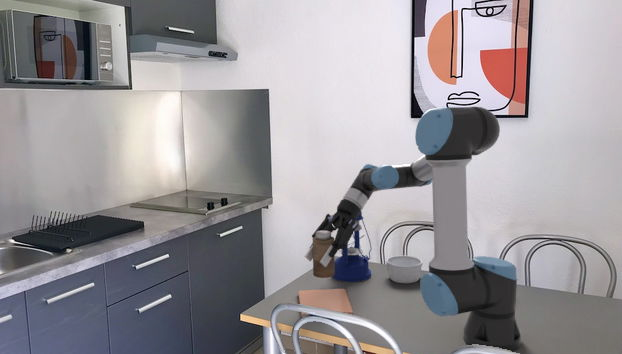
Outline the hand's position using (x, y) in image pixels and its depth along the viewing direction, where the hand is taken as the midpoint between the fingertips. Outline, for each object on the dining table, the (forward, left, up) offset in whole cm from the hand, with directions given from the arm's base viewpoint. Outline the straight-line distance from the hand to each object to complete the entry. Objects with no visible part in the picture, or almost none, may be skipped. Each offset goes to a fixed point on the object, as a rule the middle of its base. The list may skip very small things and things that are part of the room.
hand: (315, 261), depth 170 cm
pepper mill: (+2, -3, -5) cm, 6 cm away
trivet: (+2, -3, -15) cm, 16 cm away
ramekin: (+24, -35, -16) cm, 45 cm away
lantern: (+30, -16, -16) cm, 37 cm away
